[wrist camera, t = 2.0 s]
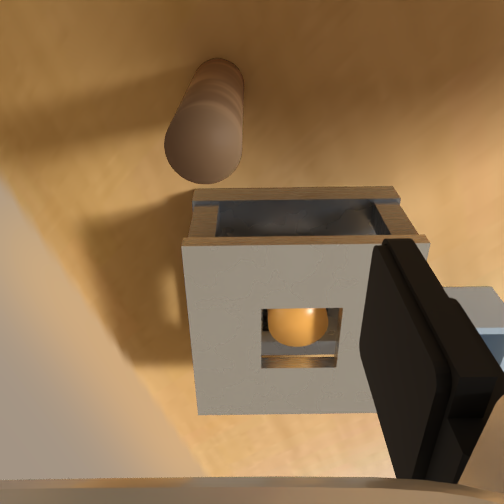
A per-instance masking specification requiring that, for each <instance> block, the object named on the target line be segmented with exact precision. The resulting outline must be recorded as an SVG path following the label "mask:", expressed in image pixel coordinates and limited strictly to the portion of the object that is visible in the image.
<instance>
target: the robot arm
mask: <svg viewBox="0 0 504 504" xmlns="http://www.w3.org/2000/svg"><path fill="white" fill-rule="evenodd" d="M359 351H360V357H361V361H362V364H363V367H364V371H365V374H366V378H367V381H368V384H369V388H370V391H371V394H372V398H373V401H374V404H375V408H376V411H377V414H378V418H379V421H380V425H381V428H382V431H383V435H384V438H385V441H386V445H387V448H388V451H389V455H390V458H391V462H392V465H393V468H394V472H395V475H396V478H378V477H190V478H189V477H185V478H184V477H183V478H97V479H96V478H95V479H28V480H0V504H504V371H503V370H502V368H501V367H500V365H499V364H498V362H497V361H496V359H495V357H494V356H493V354H492V353H491V351H490V350H489V348H488V346H487V345H486V343H485V342H484V340H483V339H482V337H481V336H480V334H479V332H478V331H477V329H476V328H475V326H474V325H473V323H472V322H471V320H470V318H469V317H468V315H467V314H466V312H465V311H464V309H463V308H462V306H461V304H460V303H459V302H458V301H457V300H456V299H454V298H449V297H448V295H447V293H446V292H445V290H444V289H443V287H442V285H441V284H440V282H439V281H438V279H437V277H436V276H435V274H434V273H433V271H432V269H431V268H430V266H429V264H428V263H427V261H426V260H425V258H424V256H423V255H422V253H421V252H420V250H419V248H418V247H417V245H416V244H415V242H414V240H413V239H411V238H392V239H384V240H383V242H382V244H381V245H375V246H374V248H373V251H372V258H371V264H370V271H369V278H368V285H367V292H366V299H365V305H364V312H363V319H362V326H361V333H360V339H359Z"/></svg>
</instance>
